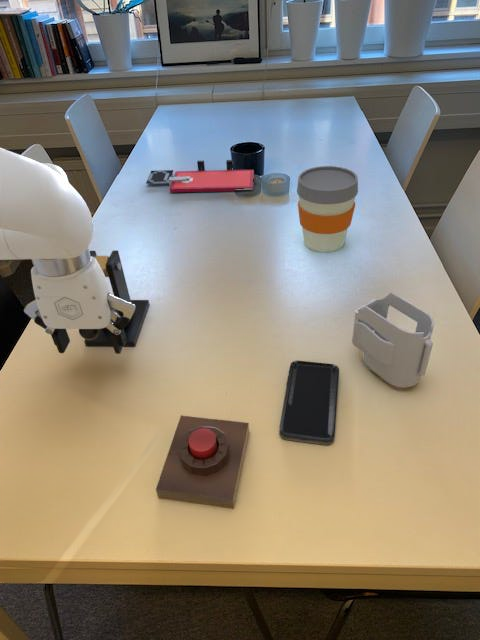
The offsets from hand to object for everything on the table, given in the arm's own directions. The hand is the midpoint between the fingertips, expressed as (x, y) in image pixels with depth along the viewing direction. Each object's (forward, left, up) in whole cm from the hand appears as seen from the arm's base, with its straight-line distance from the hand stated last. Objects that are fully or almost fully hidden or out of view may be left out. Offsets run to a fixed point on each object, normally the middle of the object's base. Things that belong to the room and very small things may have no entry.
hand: (92, 347), depth 79 cm
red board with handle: (+71, +23, -6) cm, 75 cm away
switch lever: (+6, +3, +4) cm, 8 cm away
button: (-8, -25, -2) cm, 27 cm away
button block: (-8, -25, -5) cm, 27 cm away
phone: (+8, -34, -5) cm, 36 cm away
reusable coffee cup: (+53, -20, -6) cm, 57 cm away
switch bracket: (+11, +5, -5) cm, 13 cm away
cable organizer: (+20, -42, -6) cm, 47 cm away
